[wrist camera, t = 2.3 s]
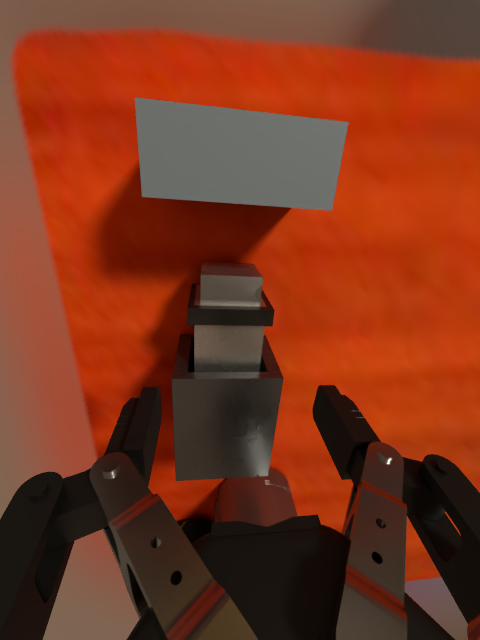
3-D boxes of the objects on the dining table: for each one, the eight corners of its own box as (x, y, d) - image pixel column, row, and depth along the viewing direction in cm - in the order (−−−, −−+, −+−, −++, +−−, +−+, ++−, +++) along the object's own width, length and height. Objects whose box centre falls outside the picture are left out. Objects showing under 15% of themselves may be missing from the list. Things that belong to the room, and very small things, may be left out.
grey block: (293, 206, 22) (331, 210, 15) (163, 197, 20) (141, 196, 14) (301, 147, 20) (348, 122, 13) (160, 133, 19) (134, 97, 12)
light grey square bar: (246, 418, 30) (254, 464, 25) (192, 420, 29) (189, 467, 24) (262, 262, 23) (277, 281, 18) (191, 259, 22) (187, 278, 17)
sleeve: (255, 419, 30) (267, 475, 24) (182, 421, 29) (175, 481, 23) (265, 335, 26) (283, 378, 20) (180, 334, 25) (171, 379, 19)
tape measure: (170, 543, 38) (166, 576, 35) (169, 512, 36) (165, 546, 32) (218, 539, 39) (219, 572, 36) (221, 510, 37) (222, 542, 33)
